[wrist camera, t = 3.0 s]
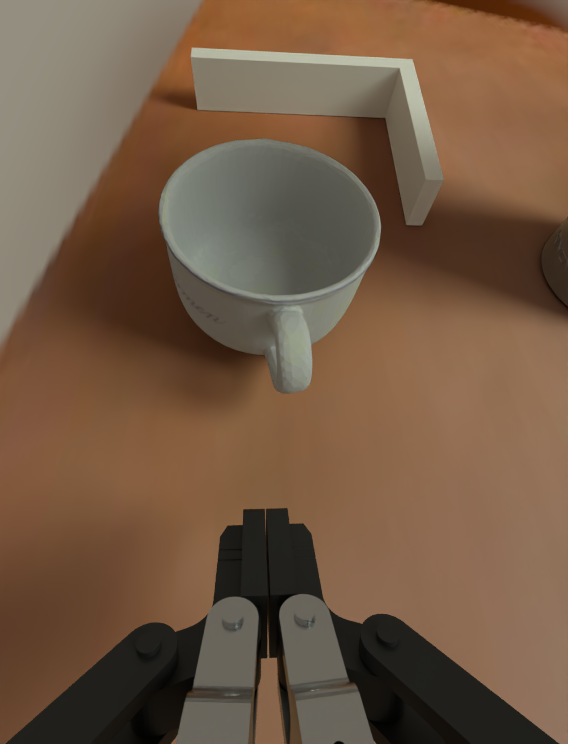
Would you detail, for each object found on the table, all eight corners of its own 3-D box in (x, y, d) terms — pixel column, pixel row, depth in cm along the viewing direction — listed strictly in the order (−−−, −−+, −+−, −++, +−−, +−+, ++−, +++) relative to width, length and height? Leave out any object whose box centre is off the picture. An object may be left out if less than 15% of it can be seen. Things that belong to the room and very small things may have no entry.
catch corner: (397, 109, 37) (412, 59, 33) (422, 225, 31) (443, 180, 28) (198, 100, 36) (192, 47, 32) (187, 219, 30) (178, 171, 27)
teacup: (195, 231, 30) (176, 122, 23) (349, 244, 30) (379, 140, 23) (161, 421, 24) (121, 355, 17) (353, 433, 24) (395, 375, 17)
